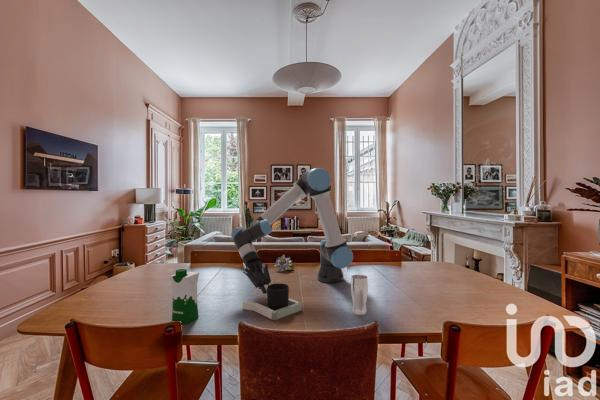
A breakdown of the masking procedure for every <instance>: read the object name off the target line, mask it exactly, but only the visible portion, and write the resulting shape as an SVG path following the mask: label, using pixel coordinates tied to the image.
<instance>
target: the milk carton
mask: <svg viewBox="0 0 600 400" xmlns="http://www.w3.org/2000/svg"><path fill="white" fill-rule="evenodd" d="M199 275H200V272H196V271H195V272H193V271H188V269H187V268H186V269H185V268H181V269H176V270H175V274H171V275H170V276H169V278H170V281H171V287H172V288H171V289H172V290H171V292H172V295H171V296H172V313H171V322H172V321H181V322H182V323H181V324H183V325H188V324H190V323H191V322H193V321H195V320H196V319H198V318H199V309H198V282H199V277H200V276H199Z"/></svg>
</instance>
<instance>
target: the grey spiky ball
mask: <svg viewBox="0 0 600 400" xmlns="http://www.w3.org/2000/svg"><path fill="white" fill-rule="evenodd" d="M273 267H275V268H276V267H277V271H280V273H282V272H283V271H284V270H286V271H287V270H288V267H289V268H290V269H291V270H292V271H294V269H295V266H294V265H293V260H291V257H290V256H289V257H286V255H285V254H283V255H281V256H280V257H277V258H276V260H275V264H274V265H273Z"/></svg>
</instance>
